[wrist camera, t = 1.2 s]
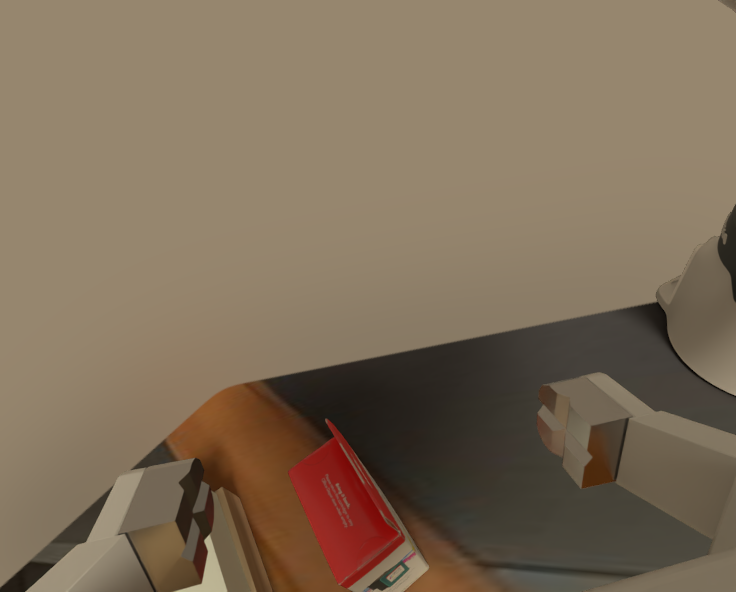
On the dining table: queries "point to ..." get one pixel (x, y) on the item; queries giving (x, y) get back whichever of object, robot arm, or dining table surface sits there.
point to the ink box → (355, 521)
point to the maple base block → (243, 541)
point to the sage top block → (221, 559)
